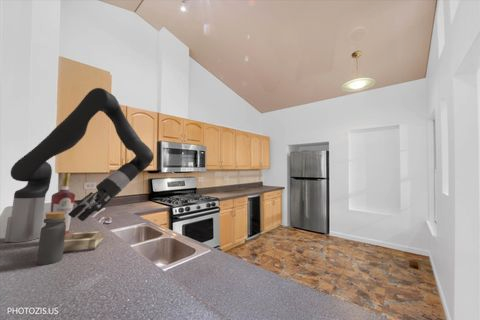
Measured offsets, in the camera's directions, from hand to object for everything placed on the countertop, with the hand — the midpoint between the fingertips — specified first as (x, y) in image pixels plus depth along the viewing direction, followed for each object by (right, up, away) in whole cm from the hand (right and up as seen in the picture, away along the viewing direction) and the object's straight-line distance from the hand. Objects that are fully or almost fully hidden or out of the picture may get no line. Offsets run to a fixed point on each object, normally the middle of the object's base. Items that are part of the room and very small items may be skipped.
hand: (74, 217), depth 67 cm
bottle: (-3, -12, -6) cm, 14 cm away
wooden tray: (-5, -13, +8) cm, 16 cm away
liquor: (-17, -14, +12) cm, 25 cm away
